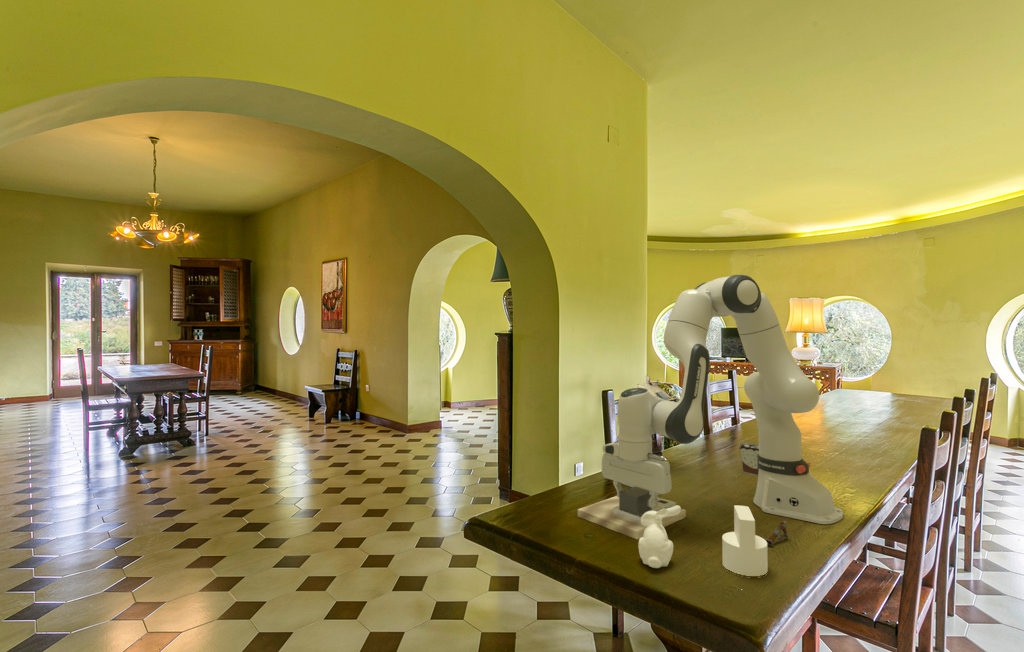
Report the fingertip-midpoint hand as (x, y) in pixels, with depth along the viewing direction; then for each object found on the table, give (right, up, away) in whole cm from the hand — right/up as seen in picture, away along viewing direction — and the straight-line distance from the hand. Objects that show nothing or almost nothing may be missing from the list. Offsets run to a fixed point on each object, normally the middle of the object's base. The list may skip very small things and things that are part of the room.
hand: (635, 502), depth 133 cm
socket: (+3, -4, +3) cm, 6 cm away
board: (0, -6, +6) cm, 9 cm away
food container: (+55, -6, +45) cm, 72 cm away
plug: (+1, -4, +1) cm, 4 cm away
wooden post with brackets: (+32, -6, -11) cm, 34 cm away
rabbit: (0, -7, -19) cm, 20 cm away
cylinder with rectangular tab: (+18, -6, -23) cm, 30 cm away
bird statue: (+21, -6, +52) cm, 56 cm away
